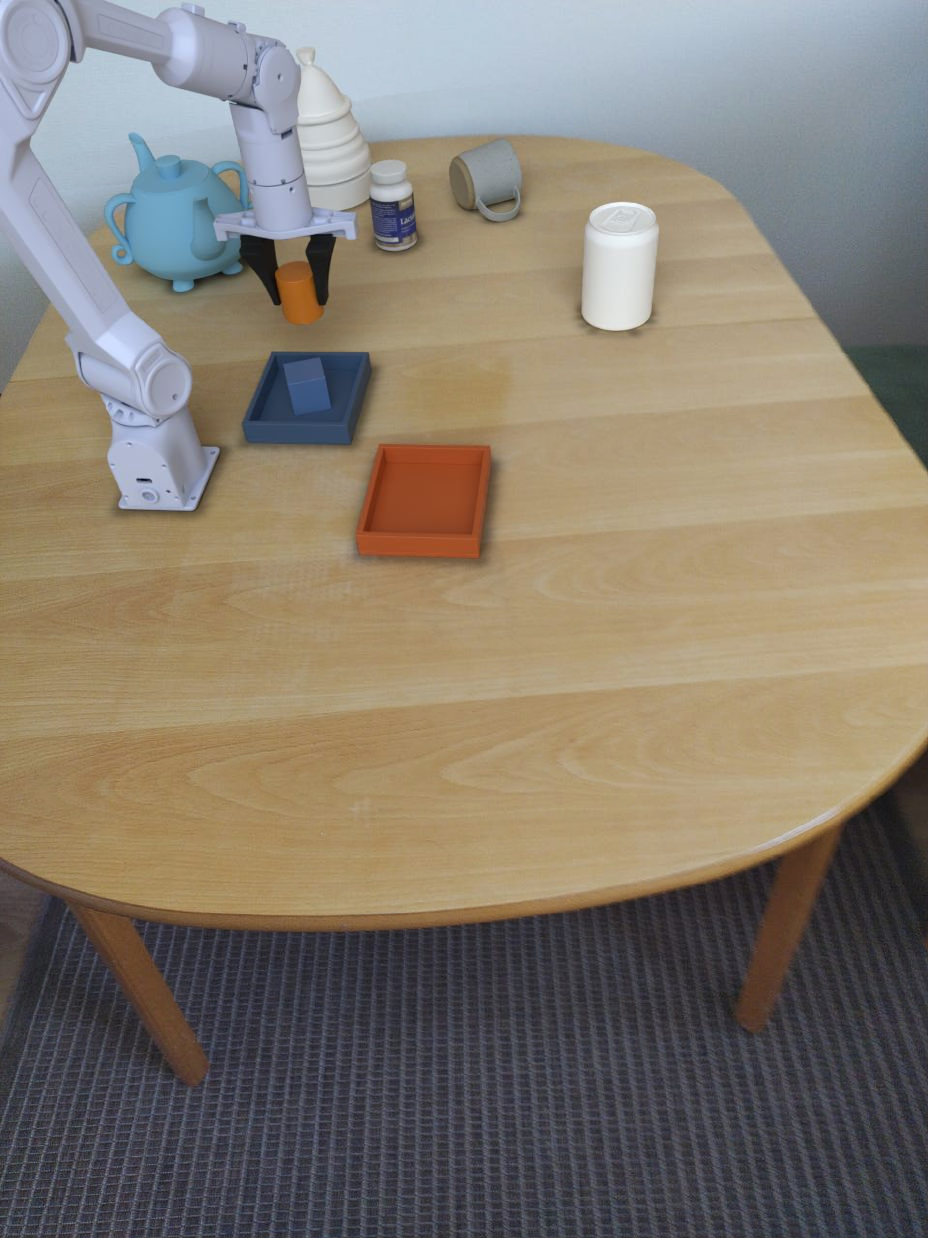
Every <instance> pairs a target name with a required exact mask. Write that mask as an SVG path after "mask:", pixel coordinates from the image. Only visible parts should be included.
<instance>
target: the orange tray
mask: <svg viewBox="0 0 928 1238" xmlns="http://www.w3.org/2000/svg"><path fill="white" fill-rule="evenodd" d="M491 449H492V448H491V445H476V444H475V445H469V444H468V445H467V444H419V443H418V444H417V443H416V444H414V443H413V444H412V443H410V444H409V443H402V444H401V443H379V444H378V447H377V451H376V454H375V458H374V463H373V466H372V470H371V475H370V478H369V483H368V486H367V490H366V493H365V498H364V501H363V506H362V509H361V514H360V517H359V521H358V525H357V529H356V532H355V533H356V534H355V539H356V545H357V547H358V548H357V549H358V553H359V555H360V556H389V557H390V556H392V557H418V558H419V557H424V558H451V559H454V558H455V559H456V558H457V559H480V556H481V555H480V554H481V547H482V541H483V533H484V525H485V524H484V523H485V516H486V510H487V501H488V493H489V487H490V486H489V485H490V479H491V470H492V452H491V451H492V450H491Z"/></svg>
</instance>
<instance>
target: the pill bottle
mask: <svg viewBox="0 0 928 1238" xmlns="http://www.w3.org/2000/svg"><path fill="white" fill-rule="evenodd" d="M370 175H371V179H372V181H373V183H372V185H371V186H370V189H369V197H370V198H369V204H370V213H371V219H372V228H373V236H374V243H375V245H376V246H377V247H378V248H379V249H381V250H383V251H387V252H400V251H401V252H402V251H405V250H408V249H410V248H412V247H413V246H414V245H415V244H416V243H417V242H418V227H417V219H416V217H417V216H416V207H415V197H414V196H415V195H414V187H413V185H412V183H411V182H410V181H409V179H407V178H408V176H409V175H408V166H407V164H406V162H404V161H402V160H400V159H399V160H398V159H384V160H379V161H376V162H374V163H372V166H371V167H370Z"/></svg>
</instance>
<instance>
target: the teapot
mask: <svg viewBox="0 0 928 1238" xmlns="http://www.w3.org/2000/svg"><path fill="white" fill-rule="evenodd" d="M128 139H129V142H130V143H131V145H132V148H133V150H134V152H135V154H136V159H137V163H138V169H139V173H137V175H136V176H135V178H133V179H134V180H133V181H132V184H131V186H130V190H129V192H121V193H117V194H115V195H113V196H112V197H110V198H109V199H108V200H107V202H106V203H105V205H104V208H103V215H104V220H105V223H106V224H107V227H108V228H109V230H110V232H111V233H112V235H113V236H114V237H115V239H116V240H117V242H118V243H116V244H115V245H113V246H112V248H111V252H110V256H111V259H112V260H113V262H114V263H116V265H120V266H125V267H126V266H130V265H132V264H133V263H135V264H136V265H137V266H138V267H140V268H142V269H143V270H144V271H146V272H148V273H150V274H151V275H153V276H155V277H157V278H160V279H164V280H169V281H172V290H173V291H174V292H179V293H182V292H187V291H190V290H192V289H194V287H195V280H197V279H202V278H206V277H210V276H213V275H215V274H218V273H220V272H221V273H223V274H225V275H235V274H238V273H240V272H241V271H242V270H243V269H244V266H243V265H242V264H241V262H239V260H240V258H241V256H240V253H239V249H240V247H241V240H240V238H229V239H228V240H227V241H217V237H216V233H215V229H214V226H213V222H214V221H215V219H216V217H217V215H218V214H230V213H237V212H243V211H249V210H252V209H253V205H252V201H251V200H250V198H249V197H250V192H249V188H248V184H247V179H246V175H245V171H244V166H243V165H240V164H239V163H237V162H235V161H233V160H220V161H218V162H216V163H215V164H213V165H212V166H211V167H209V166H208V165H207V164H205V163H204V162H201V161H199V160H195V159H181V157H180V156H179V155H174V154H165V155H162V156H160V157H158V158H155V156H154V155H153V153H152V152H151V150H150V148H149V145H148V144H147V143H146V141H145V139H144V138H143V137H142V136H141V135H140V134H139V133H137V132H135V131H133V132H129V133H128ZM228 171H235V172H236V173H237V176H238V180H239V198H238V196H237V195H236V194H235V192H234V191H233V190H232V188H230V186H229V185H228V184H227V183H226V182H225V181H224V180H223V179H222V177H220V176H219V175H220V174H222V173H224V172H228ZM124 204H126V205H125V211H124V220H123V229H124V233H122V231H121V229H120V228H119V226H118V225H117V223H116V220H115V217H114V211H115V210H116V209H117V208H119V206H121V205H124ZM120 251H124V254H125V255H122V256H120V255H119V252H120Z"/></svg>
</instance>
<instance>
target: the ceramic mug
mask: <svg viewBox="0 0 928 1238" xmlns="http://www.w3.org/2000/svg"><path fill="white" fill-rule="evenodd" d="M448 167H449V168H448V176H449V177H448V178H449V183H450V187H451V191H452V193H453V195H454V198H455V200H456V201H457V203H458V204H459V205H460V206H461V207H462V208H463V209H465V210H468V211H470V210H478V211H479V212H480V214H482V215H483V216H484V217H485V218H486V219H488V220H490V221H492V222H499V223H501V222H502V223H503V222H507V221H511V220H513V219H514V218H515V217H517V215H518V213H519V211H520V207H521V200H522V199H521V198H522V197H521V192H522V189H523V180H524V179H523V178H524V177H523V172H522V171H523V170H522V165H521V162H520V159H519V157H518V154H517V151H516V150H515V147H514V146H513V145H512V143H511V142H510V141H509V140H508V139H507V138H505V137H498V138H496V139H494V140H491V141H489V142H486V143H483V144H481V145H479V146H476V147H474V148H472V149H468V150H465V151H463V152H461V153H459V154H458V155H456V156H455V157H454V158H452V159H451V161H450V164H449V166H448ZM513 199H515V201H516V204H515V206H514V208H513V209H512V210H510V211H505V212H498V211H497V212H495V211H492V210H490V209H489V208H487V207H488V206H491V205H495V204H499V203H502V202H506V201H509V200H513Z"/></svg>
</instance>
